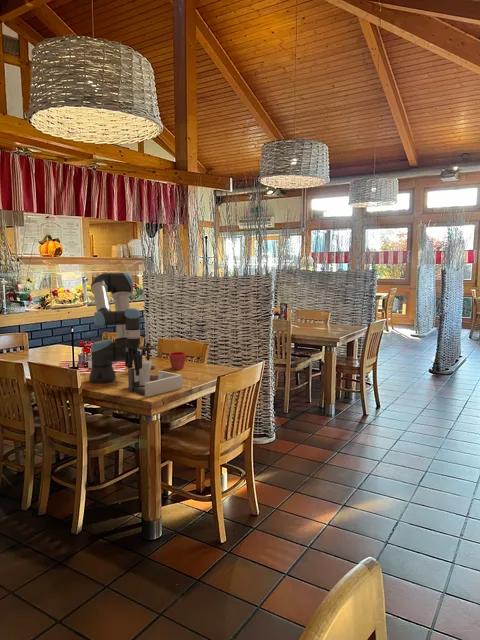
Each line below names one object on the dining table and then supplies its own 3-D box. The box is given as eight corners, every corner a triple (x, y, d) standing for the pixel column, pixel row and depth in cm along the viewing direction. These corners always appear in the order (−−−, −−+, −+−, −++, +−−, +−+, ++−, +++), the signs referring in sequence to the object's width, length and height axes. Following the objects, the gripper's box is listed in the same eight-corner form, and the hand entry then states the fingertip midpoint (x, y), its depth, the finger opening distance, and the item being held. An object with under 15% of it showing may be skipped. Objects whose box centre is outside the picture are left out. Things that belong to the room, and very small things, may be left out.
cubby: (125, 390, 255) (124, 378, 254) (160, 382, 274) (160, 370, 273) (147, 396, 243) (147, 383, 242) (182, 387, 262) (182, 375, 261)
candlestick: (143, 371, 304) (141, 316, 300) (137, 368, 313) (136, 315, 309) (159, 369, 309) (158, 315, 305) (153, 366, 318) (152, 314, 315)
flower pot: (183, 369, 307) (183, 355, 306) (167, 369, 309) (166, 354, 308) (187, 366, 318) (187, 352, 317) (172, 366, 319) (171, 351, 318)
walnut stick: (163, 379, 283) (163, 374, 283) (163, 380, 280) (163, 375, 280) (136, 380, 281) (136, 375, 280) (135, 381, 278) (135, 376, 277)
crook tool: (126, 391, 255) (126, 369, 254) (156, 383, 271) (156, 363, 269) (143, 395, 246) (143, 372, 245) (173, 387, 262) (172, 366, 260)
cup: (145, 382, 275) (144, 359, 274) (155, 384, 268) (155, 361, 267) (130, 385, 267) (129, 362, 266) (141, 387, 261) (140, 364, 260)
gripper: (117, 336, 254) (118, 379, 257) (137, 339, 243) (138, 384, 246) (128, 335, 260) (129, 377, 263) (148, 338, 249) (149, 381, 252)
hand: (133, 380), depth 254 cm, fingers open, 4 cm apart
